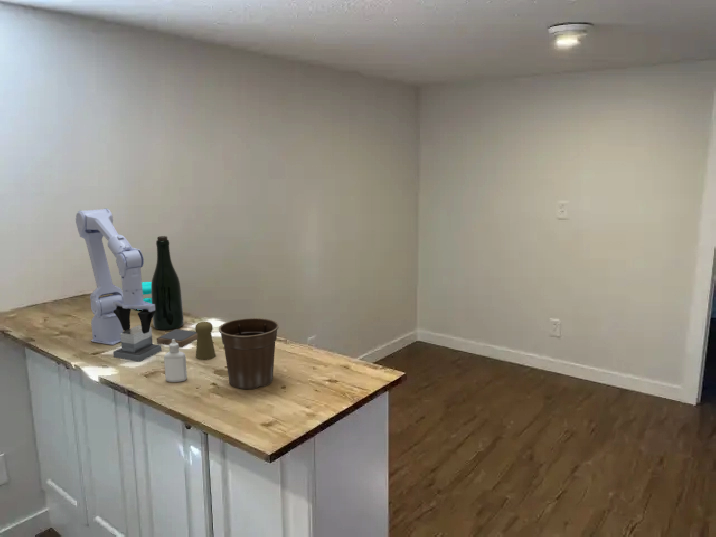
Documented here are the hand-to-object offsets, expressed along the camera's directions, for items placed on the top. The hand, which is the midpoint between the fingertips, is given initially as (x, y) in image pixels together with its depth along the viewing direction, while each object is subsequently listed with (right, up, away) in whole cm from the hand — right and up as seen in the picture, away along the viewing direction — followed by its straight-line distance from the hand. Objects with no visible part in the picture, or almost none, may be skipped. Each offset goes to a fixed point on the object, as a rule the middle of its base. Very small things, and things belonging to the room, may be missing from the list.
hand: (136, 331), depth 177 cm
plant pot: (+39, -12, -18) cm, 45 cm away
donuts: (-15, +3, +51) cm, 53 cm away
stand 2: (+9, -5, +14) cm, 17 cm away
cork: (+22, -8, 0) cm, 23 cm away
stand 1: (0, -7, +2) cm, 8 cm away
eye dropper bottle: (+18, -12, -17) cm, 28 cm away
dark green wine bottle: (+1, -2, +29) cm, 29 cm away
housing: (0, -5, +1) cm, 6 cm away
